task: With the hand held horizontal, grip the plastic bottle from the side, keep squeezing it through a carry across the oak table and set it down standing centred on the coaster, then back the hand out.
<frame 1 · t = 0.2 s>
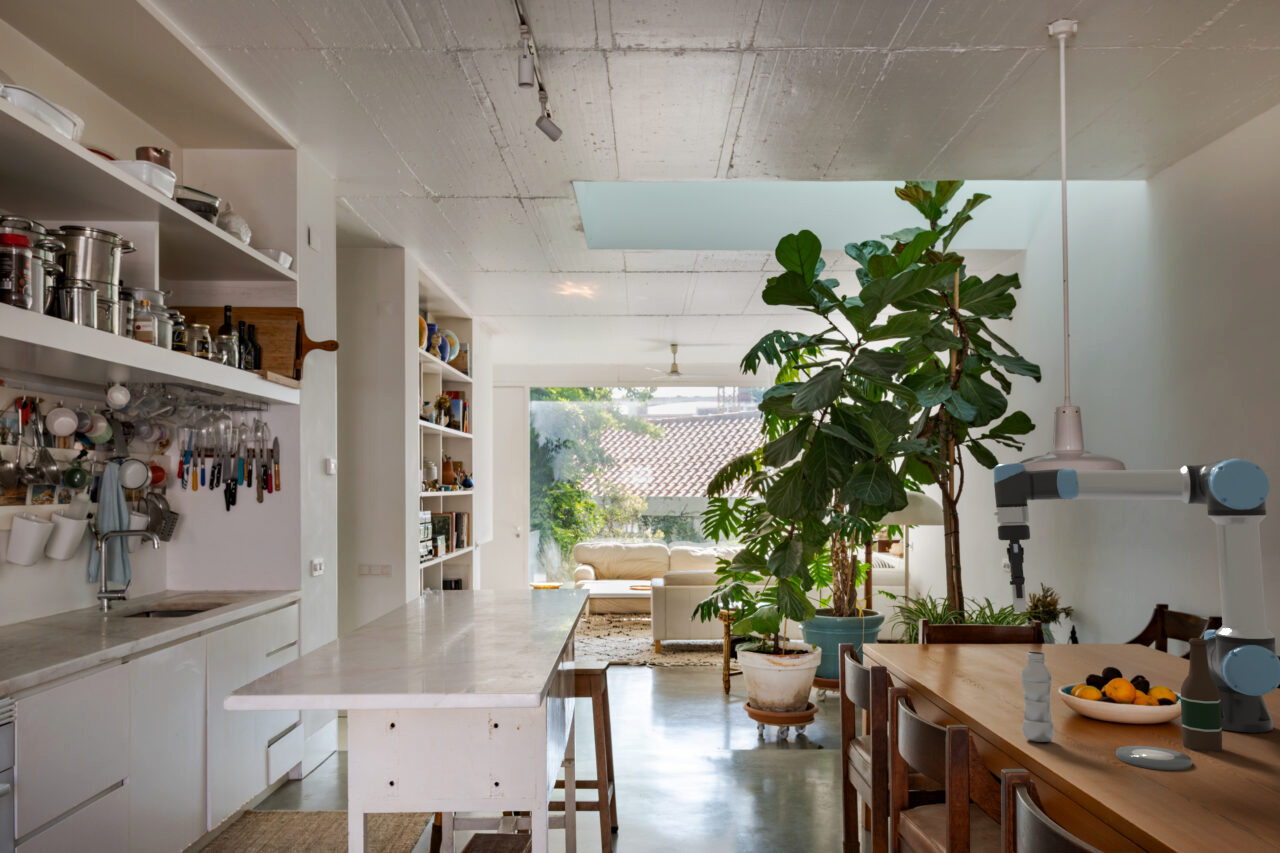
hand: (1019, 609, 232), 28 cm above the table, tool pointing down, fingers open, 13 cm apart
plastic bottle: (1038, 742, 211), on the table
coaster: (1153, 760, 196), on the table
beer bottle: (1202, 748, 206), on the table
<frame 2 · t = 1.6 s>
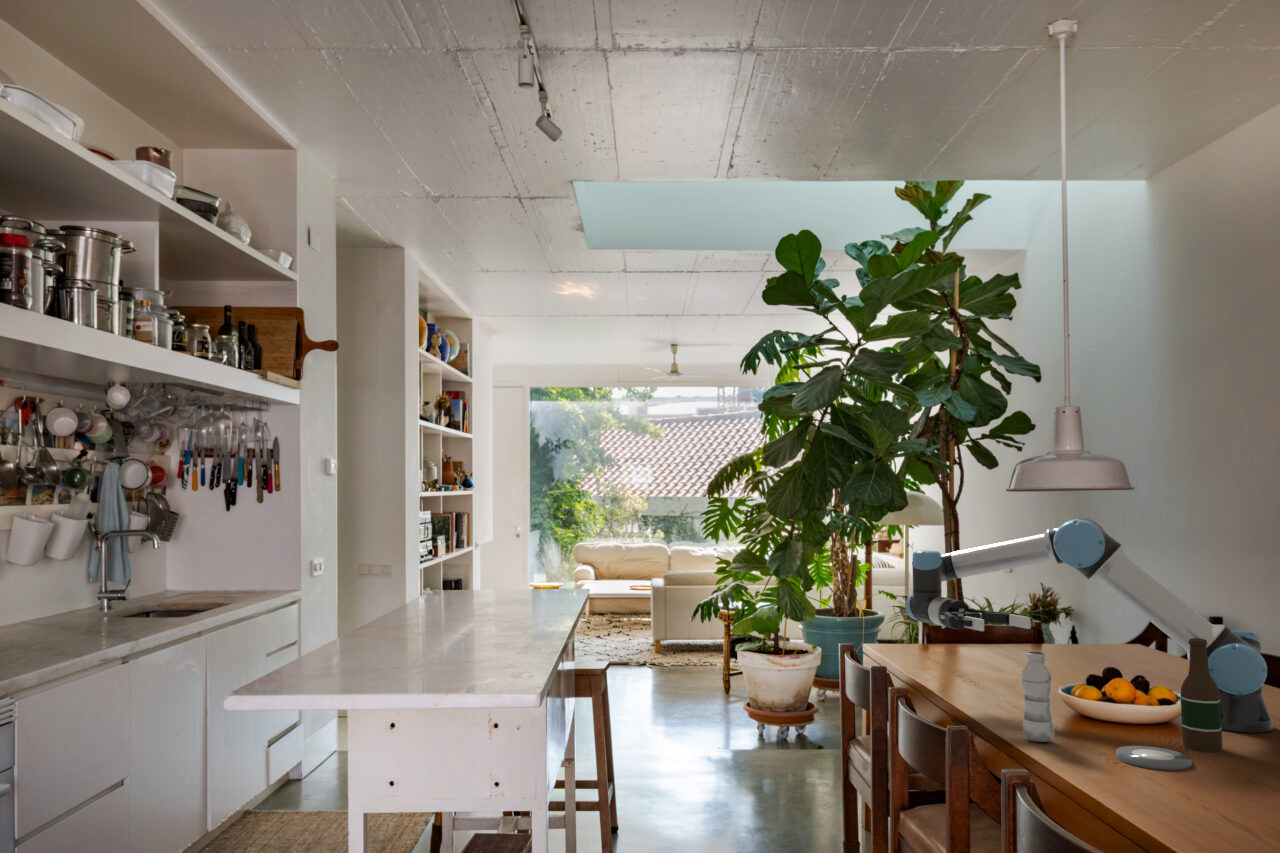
hand: (1006, 624, 222), 25 cm above the table, tool horizontal, fingers open, 13 cm apart
nothing on the table moved.
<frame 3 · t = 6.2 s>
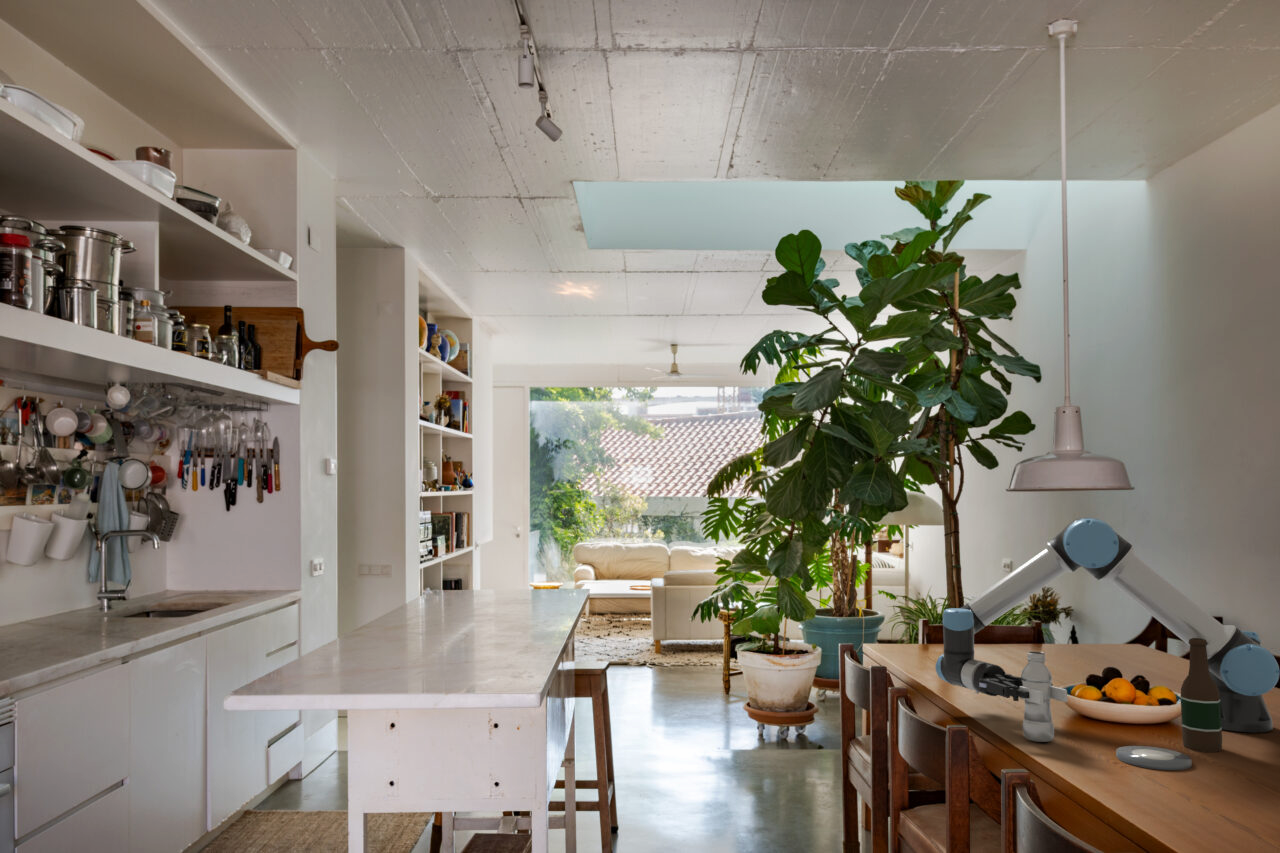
hand: (1053, 697, 207), 11 cm above the table, tool horizontal, fingers closed on plastic bottle, 6 cm apart
plastic bottle: (1038, 742, 211), on the table, touching gripper
everything else where it was.
when the fingers open (14 cm above the table, at t = 10.8 s): plastic bottle drops 1 cm, resting on coaster.
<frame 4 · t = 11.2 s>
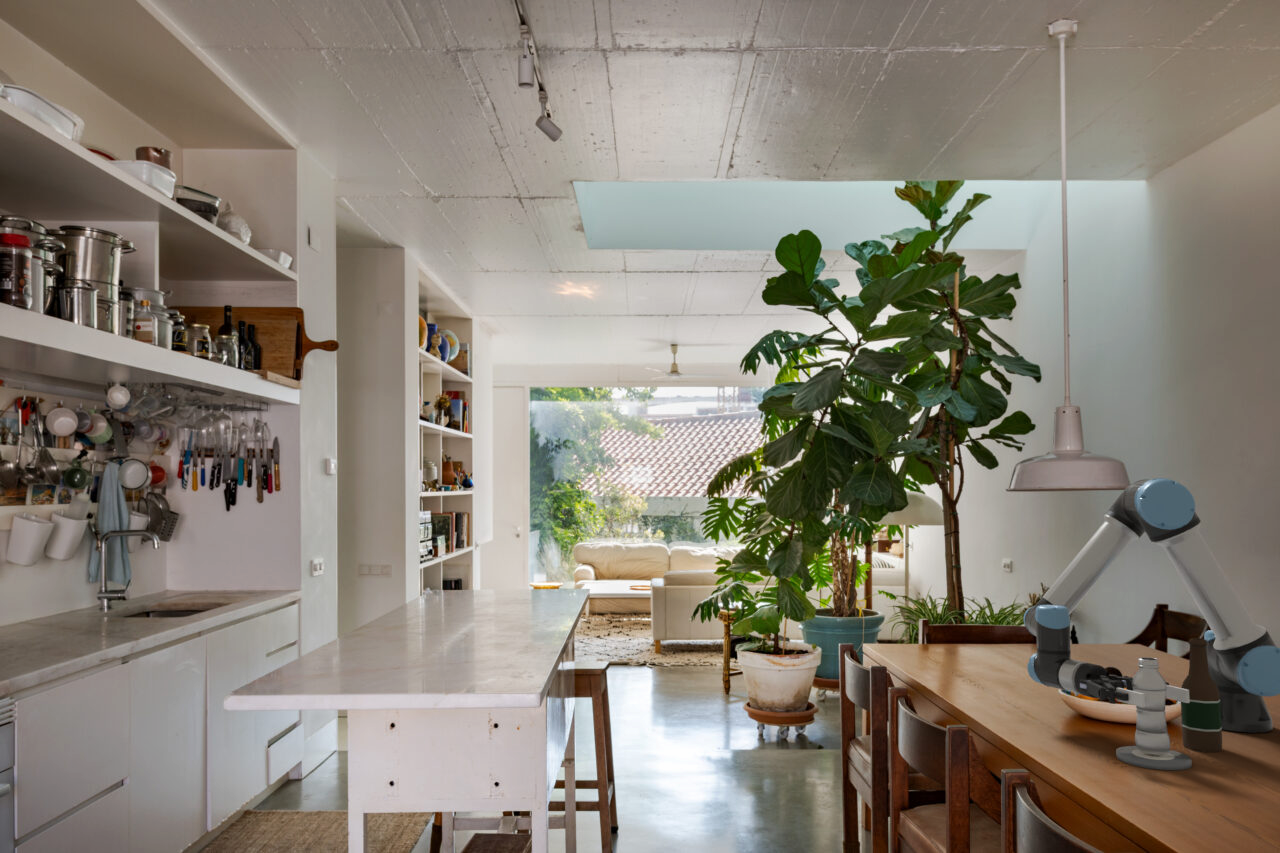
hand: (1165, 698, 193), 14 cm above the table, tool horizontal, fingers open, 11 cm apart
plastic bottle: (1153, 755, 196), point 1 cm above the table, touching coaster
everything else where it was.
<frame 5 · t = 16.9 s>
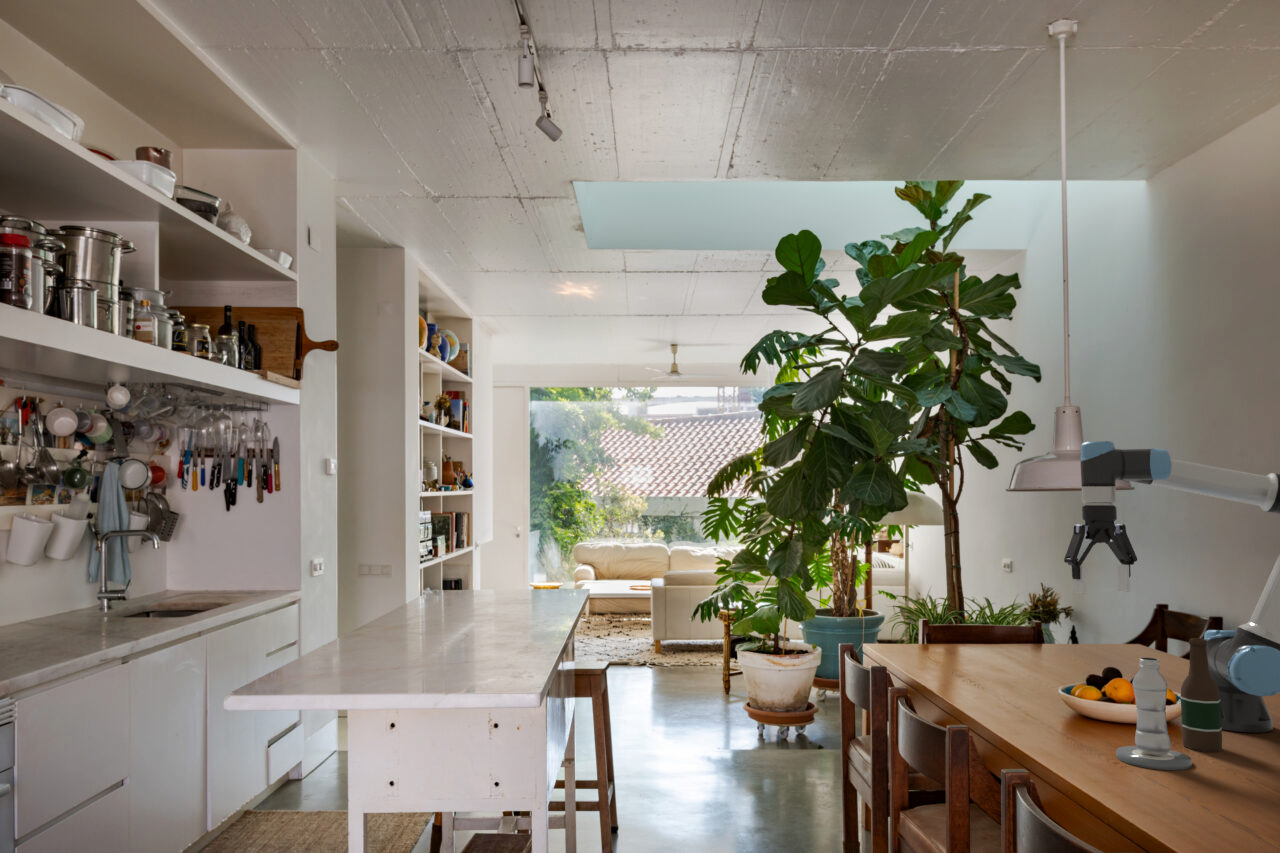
hand: (1102, 592, 224), 33 cm above the table, tool pointing down, fingers open, 13 cm apart
nothing on the table moved.
at the end: plastic bottle 0.0 cm from the coaster (horizontally); plastic bottle tilted 0°; the gripper is holding nothing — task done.
